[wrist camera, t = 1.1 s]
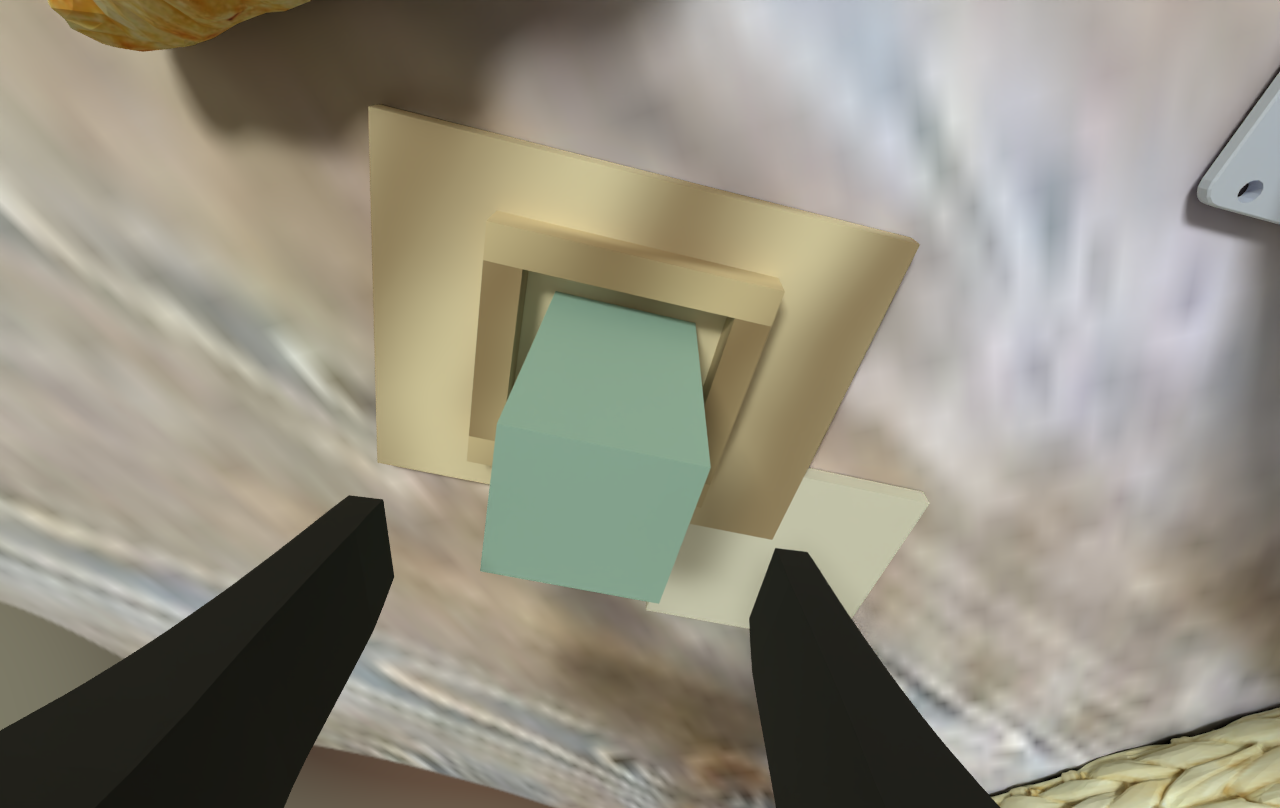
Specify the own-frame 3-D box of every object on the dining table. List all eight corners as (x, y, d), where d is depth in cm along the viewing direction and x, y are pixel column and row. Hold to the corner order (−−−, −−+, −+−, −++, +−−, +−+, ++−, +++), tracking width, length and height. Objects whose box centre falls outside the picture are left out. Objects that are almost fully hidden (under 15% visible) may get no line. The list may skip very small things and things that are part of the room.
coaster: (922, 491, 20) (929, 503, 19) (830, 631, 24) (834, 644, 24) (701, 445, 19) (701, 456, 19) (646, 597, 23) (645, 610, 23)
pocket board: (911, 237, 15) (935, 256, 14) (769, 528, 21) (777, 561, 20) (378, 104, 14) (348, 110, 13) (384, 451, 20) (364, 481, 18)
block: (695, 322, 16) (710, 467, 11) (660, 434, 18) (658, 604, 13) (555, 291, 16) (496, 423, 10) (537, 408, 18) (479, 571, 12)
